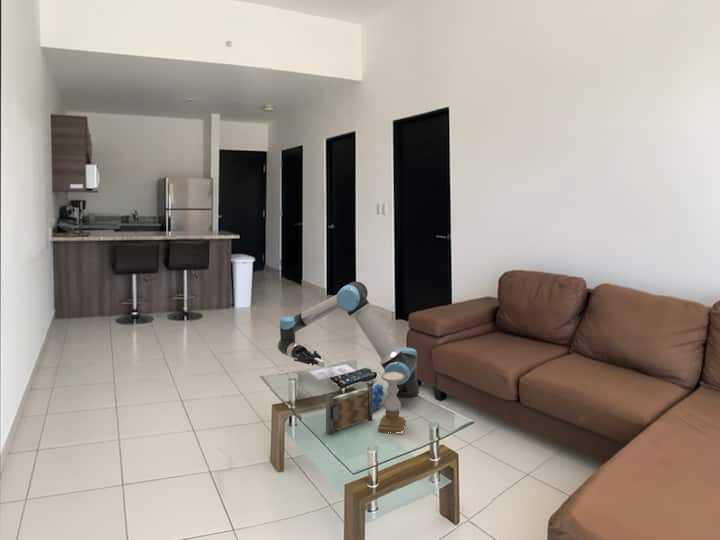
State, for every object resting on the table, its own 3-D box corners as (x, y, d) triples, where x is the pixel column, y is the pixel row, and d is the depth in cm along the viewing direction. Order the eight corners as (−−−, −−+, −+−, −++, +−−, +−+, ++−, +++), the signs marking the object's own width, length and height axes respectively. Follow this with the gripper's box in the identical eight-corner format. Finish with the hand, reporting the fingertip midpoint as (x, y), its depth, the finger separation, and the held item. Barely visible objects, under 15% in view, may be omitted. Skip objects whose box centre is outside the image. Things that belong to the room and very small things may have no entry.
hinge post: (370, 417, 239) (370, 379, 237) (374, 419, 237) (375, 381, 234) (364, 419, 238) (365, 381, 235) (369, 421, 235) (369, 383, 232)
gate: (365, 418, 237) (365, 387, 235) (368, 419, 235) (368, 389, 233) (331, 429, 226) (331, 397, 224) (334, 430, 224) (334, 399, 222)
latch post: (334, 429, 227) (334, 392, 225) (339, 433, 224) (339, 395, 222) (326, 432, 225) (325, 394, 222) (330, 435, 222) (330, 397, 219)
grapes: (374, 402, 256) (374, 379, 254) (386, 405, 252) (386, 381, 250) (362, 411, 246) (362, 387, 244) (375, 414, 242) (375, 390, 240)
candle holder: (403, 434, 223) (404, 381, 219) (377, 432, 225) (378, 379, 221) (406, 423, 234) (407, 372, 230) (381, 421, 236) (382, 370, 232)
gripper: (309, 356, 267) (335, 369, 248) (286, 362, 259) (311, 375, 240) (308, 342, 266) (334, 353, 247) (285, 347, 258) (310, 359, 239)
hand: (323, 364), depth 244 cm, fingers closed
